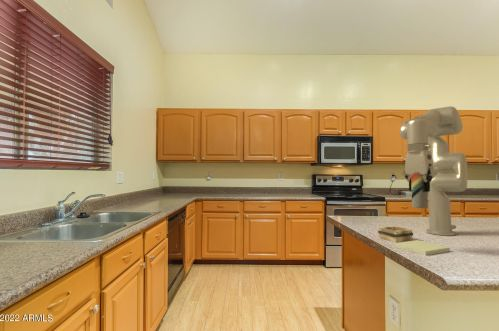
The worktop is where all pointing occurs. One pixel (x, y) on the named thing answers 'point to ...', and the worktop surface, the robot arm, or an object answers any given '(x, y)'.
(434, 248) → the board
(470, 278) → the worktop surface
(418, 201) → the lotion bottle
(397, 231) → the holder
